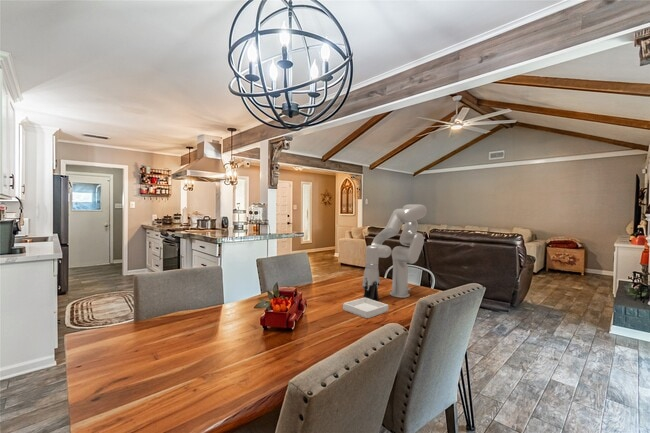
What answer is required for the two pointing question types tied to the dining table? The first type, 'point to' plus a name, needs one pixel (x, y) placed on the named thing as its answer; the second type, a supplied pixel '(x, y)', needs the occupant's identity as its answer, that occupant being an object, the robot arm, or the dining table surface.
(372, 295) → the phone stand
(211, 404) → the dining table surface
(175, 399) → the dining table surface
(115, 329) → the dining table surface
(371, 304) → the tray
